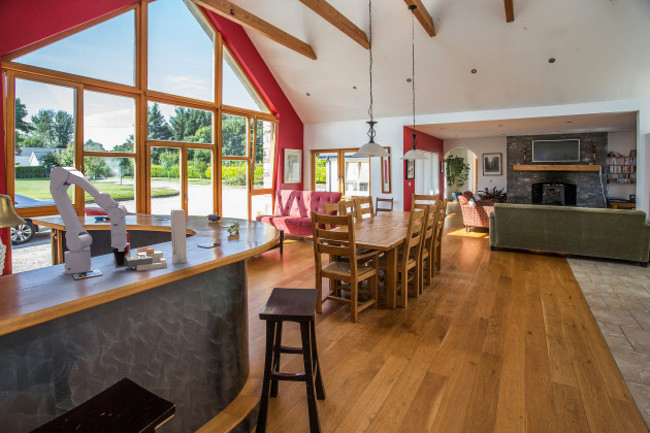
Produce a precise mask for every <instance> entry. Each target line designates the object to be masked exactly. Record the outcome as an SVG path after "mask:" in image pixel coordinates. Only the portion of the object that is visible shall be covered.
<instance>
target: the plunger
mask: <svg viewBox="0 0 650 433" xmlns="http://www.w3.org/2000/svg"><path fill="white" fill-rule="evenodd" d="M154 251H155V248H146V249H145V252H146V253H147V254H150V253H154Z"/></svg>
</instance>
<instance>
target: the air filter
mask: <svg viewBox="0 0 650 433" xmlns="http://www.w3.org/2000/svg"><path fill="white" fill-rule="evenodd" d="M186 221H187V220H186V211H185V209H182V208H180V209H179V208H178V209H177V208H176V209H175V208H174V209H171V210H170V228H171V229H170V230H171V231H170V232H171V234H170V235H171V256H172V257H171V259H172V264H176V265H177V264H178V265H179V264H185V263H187V262H188V261H187V260H188V259H187V258H188V254H187V230H186V229H187V227H186V224H187V223H186Z"/></svg>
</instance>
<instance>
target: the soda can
mask: <svg viewBox="0 0 650 433" xmlns="http://www.w3.org/2000/svg"><path fill="white" fill-rule="evenodd" d="M126 238H127V243H130V245H127V246H126V248H127V250H128V251H127V253H126V255H125V257H127V258H128V257H131V241H130V234H129V232H128V231H126ZM112 249H114V247H112ZM113 259H114V260H115V255H114V254H113Z"/></svg>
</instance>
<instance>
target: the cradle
mask: <svg viewBox="0 0 650 433" xmlns="http://www.w3.org/2000/svg"><path fill="white" fill-rule="evenodd" d="M144 255H146V256H147V255H150V256H151V257H152V264H145V265H137V267H134V268H135V269H136V271H137V272H138V271H147V270H156V269H163V268H164V269H165V268H168V262H167V259H166V258H165V257H164V252H163V251H161V250H154V253H150V254H147V253H146V251H141V252H137V255H136V257H137V256H144Z"/></svg>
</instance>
